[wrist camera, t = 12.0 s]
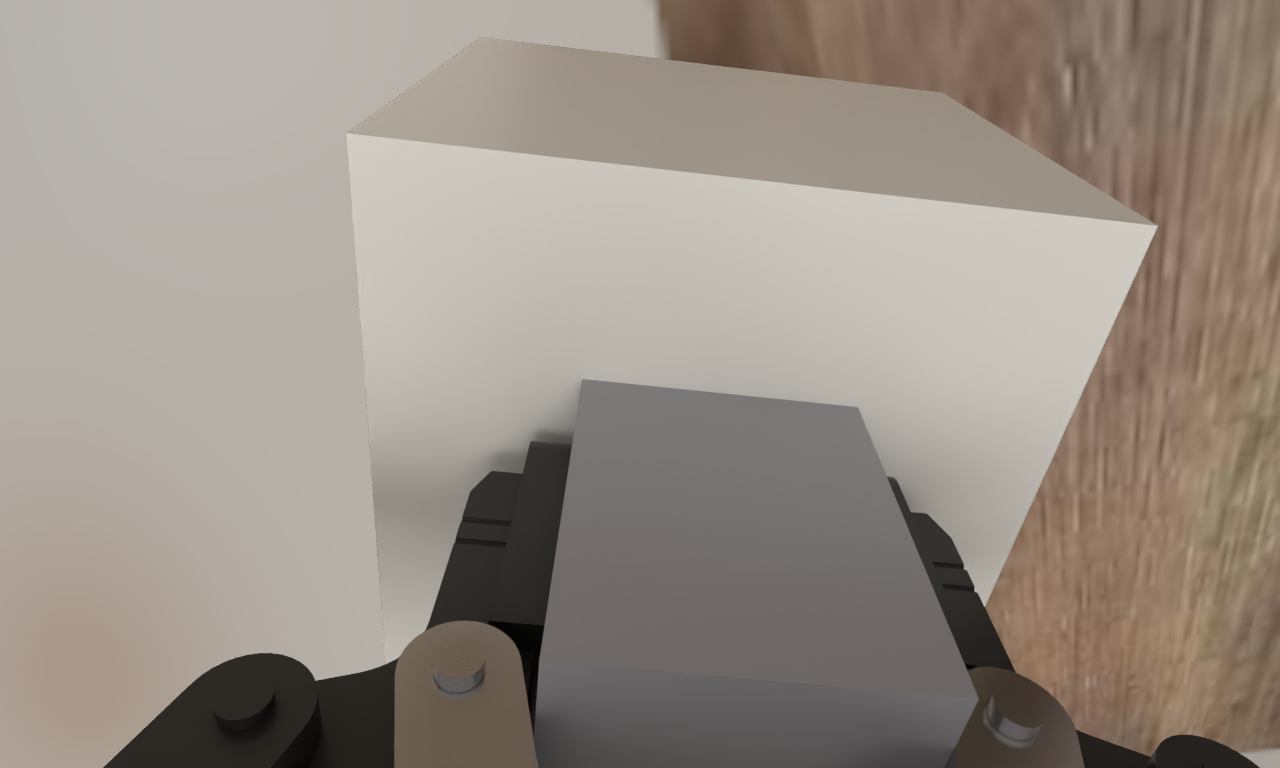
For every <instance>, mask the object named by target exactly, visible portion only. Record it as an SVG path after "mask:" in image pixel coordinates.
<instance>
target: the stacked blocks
mask: <svg viewBox="0 0 1280 768" xmlns="http://www.w3.org/2000/svg"><path fill="white" fill-rule="evenodd" d="M346 134H347V147H348V161H349V174H350V188H351V202H352V216H353V229H354V242H355V256H356V270H357V284H358V296H359V311H360V324H361V337H362V352H363V364H364V379H365V391H366V404H367V405H366V406H367V419H368V433H369V445H370V446H369V447H370V460H371V473H372V486H373V500H374V513H375V528H376V541H377V555H378V568H379V581H380V596H381V609H382V622H383V636H384V650H385V663H386V664H387V663H389V662H391V661H393V660H395V659H397V658H398V657H400V655H401V654H402V652H403V650H404V649H405V648H406V646H407V645H408V644H409V643H410V642H411V641H412V640H413V639H414V638H416V637H417V636H418V635H420V634H421V633H423V632H424V631H425V630H426V628H427V625H428V623H429V620H430V617H431V614H432V611H433V607H434V604H435V601H436V598H437V595H438V592H439V589H440V585H441V582H442V579H443V576H444V573H445V570H446V566H447V563H448V560H449V557H450V554H451V551H452V547H453V544H454V543H455V540H456V535H457V532H458V529H459V525H460V522H462V516H463V513H464V510H465V506H466V503H467V500H468V497H469V494H470V491H471V490H472V489H473V488H474V487H475V486H476V485H477V484H478V483H479V482H480V481H481V480H482V479H483V478H484V477H486V476H487V475H488V474H489V473H490V472H491V471H500V472H510V473H520V474H523V470H524V466H525V462H526V457H527V453H528V449H529V445H530V442H531V441H539V442H549V443H559V444H569V445H572V449H571V456H570V462H569V469H568V476H567V482H566V489H565V495H564V502H563V508H562V515H561V521H560V528H559V534H558V541H557V548H556V554H555V561H554V567H553V574H552V580H551V587H550V593H549V600H548V606H547V613H546V620H545V626H544V633H543V639H542V646H541V652H540V659H539V672H538V686H537V701H536V716H535V731H534V745H535V751H536V757H537V764H538V768H945V767H946V765H947V763H948V761H949V759H950V757H951V755H952V753H953V751H954V749H955V747H956V745H957V743H958V740H959V738H960V736H961V734H962V732H963V730H964V728H965V726H966V724H967V722H968V720H969V718H970V716H971V714H972V712H973V710H974V708H975V706H976V704H977V702H978V700H979V698H978V695H977V693H976V691H975V688H974V686H973V683H972V681H971V679H970V676H969V674H968V671H967V669H966V666H965V664H964V662H963V659H962V657H961V654H960V652H959V650H958V647H957V645H956V642H955V640H954V638H953V635H952V633H951V630H950V628H949V626H948V623H947V621H946V618H945V616H944V613H943V611H942V609H941V606H940V604H939V601H938V599H937V597H936V594H935V592H934V589H933V587H932V585H931V582H930V580H929V577H928V575H927V573H926V570H925V568H924V565H923V563H922V560H921V558H920V556H919V553H918V551H917V548H916V546H915V544H914V541H913V539H912V536H911V534H910V532H909V529H908V527H907V524H906V522H905V520H904V517H903V515H902V512H901V510H900V507H899V505H898V503H897V500H896V498H895V495H894V493H893V491H892V488H891V486H890V483H889V481H888V479H887V477H894V478H895V479H896V480H897V482H898V484H899V486H900V488H901V491H902V493H903V495H904V498H905V500H906V502H907V505H908V507H909V509H910V512H916V513H927V514H928V515H929V516H930V517H931V518H932V519H933V520H934V521H935V522H936V523H937V524H938V525H939V526H940V527H941V528H942V529H943V530H944V531H945V532H946V533H947V534H948V535H949V536H950V537H951V538H952V540H953V542H954V544H955V546H956V549H957V551H958V553H959V555H960V557H961V559H962V561H963V563H964V570H967V572H968V574H969V576H970V578H971V580H972V582H973V584H974V586H975V588H974V591H975V592H977V593H978V595H979V597H980V599H981V601H982V603H983V605H984V607H985V605H986V603H987V601H988V598H989V596H990V594H991V592H992V590H993V587H994V585H995V583H996V581H997V579H998V576H999V574H1000V572H1001V570H1002V568H1003V565H1004V563H1005V561H1006V559H1007V557H1008V554H1009V552H1010V550H1011V548H1012V546H1013V543H1014V541H1015V539H1016V537H1017V535H1018V532H1019V530H1020V528H1021V526H1022V524H1023V521H1024V519H1025V517H1026V515H1027V513H1028V511H1029V508H1030V506H1031V504H1032V502H1033V500H1034V497H1035V495H1036V493H1037V491H1038V489H1039V486H1040V484H1041V482H1042V480H1043V478H1044V475H1045V473H1046V471H1047V469H1048V467H1049V464H1050V462H1051V460H1052V458H1053V456H1054V453H1055V451H1056V449H1057V447H1058V445H1059V442H1060V440H1061V438H1062V436H1063V434H1064V431H1065V429H1066V427H1067V425H1068V423H1069V420H1070V418H1071V416H1072V414H1073V412H1074V409H1075V407H1076V405H1077V403H1078V401H1079V398H1080V396H1081V394H1082V392H1083V390H1084V387H1085V385H1086V383H1087V381H1088V379H1089V376H1090V374H1091V372H1092V370H1093V368H1094V365H1095V363H1096V361H1097V359H1098V357H1099V354H1100V352H1101V350H1102V348H1103V346H1104V343H1105V341H1106V339H1107V337H1108V335H1109V332H1110V330H1111V328H1112V326H1113V324H1114V321H1115V319H1116V317H1117V315H1118V313H1119V310H1120V308H1121V306H1122V304H1123V302H1124V299H1125V297H1126V295H1127V293H1128V291H1129V288H1130V286H1131V284H1132V282H1133V280H1134V278H1135V275H1136V273H1137V271H1138V269H1139V267H1140V264H1141V262H1142V260H1143V258H1144V256H1145V253H1146V251H1147V249H1148V247H1149V245H1150V242H1151V240H1152V238H1153V236H1154V234H1155V231H1156V229H1157V227H1158V226H1157V225H1156V224H1154V223H1152V222H1151V221H1149V220H1148V219H1146V218H1144V217H1143V216H1141V215H1140V214H1138V213H1136V212H1135V211H1133V210H1131V209H1130V208H1128V207H1127V206H1125V205H1123V204H1122V203H1120V202H1118V201H1117V200H1115V199H1114V198H1112V197H1110V196H1109V195H1107V194H1105V193H1104V192H1102V191H1101V190H1099V189H1097V188H1096V187H1094V186H1093V185H1091V184H1089V183H1088V182H1086V181H1084V180H1083V179H1081V178H1080V177H1078V176H1076V175H1075V174H1073V173H1071V172H1070V171H1068V170H1067V169H1065V168H1063V167H1062V166H1060V165H1059V164H1057V163H1055V162H1054V161H1052V160H1050V159H1049V158H1047V157H1046V156H1044V155H1042V154H1041V153H1039V152H1037V151H1036V150H1034V149H1033V148H1031V147H1029V146H1028V145H1026V144H1025V143H1023V142H1021V141H1020V140H1018V139H1016V138H1015V137H1013V136H1012V135H1010V134H1008V133H1007V132H1005V131H1003V130H1002V129H1000V128H999V127H997V126H995V125H994V124H992V123H991V122H989V121H987V120H986V119H984V118H982V117H981V116H979V115H978V114H976V113H974V112H973V111H971V110H969V109H968V108H966V107H965V106H963V105H961V104H960V103H958V102H957V101H955V100H953V99H952V98H950V97H948V96H947V95H945V94H944V93H940V92H932V91H924V90H916V89H907V88H899V87H891V86H882V85H874V84H866V83H857V82H849V81H841V80H832V79H824V78H816V77H807V76H799V75H791V74H782V73H774V72H766V71H757V70H749V69H741V68H732V67H724V66H716V65H707V64H699V63H691V62H682V61H674V60H666V59H657V58H648V57H641V56H632V55H624V54H615V53H606V52H599V51H590V50H583V49H574V48H566V47H557V46H549V45H541V44H533V43H524V42H516V41H508V40H499V39H491V38H482V37H481V38H479V39H478V40H476V41H475V42H474V43H472V44H471V45H469V46H468V47H467V48H465V49H464V50H462V51H461V52H460V53H458V54H457V55H455V56H454V57H453V58H451V59H450V60H448V61H447V62H446V63H444V64H443V65H441V66H440V67H439V68H438V69H436V70H434V71H433V72H431V73H430V74H429V75H427V76H426V77H424V78H423V79H422V80H420V81H419V82H418V83H416V84H415V85H413V86H412V87H411V88H409V89H408V90H406V91H405V92H403V93H402V94H401V95H399V96H398V97H396V98H395V99H394V100H392V101H391V102H390V103H388V104H387V105H385V106H384V107H383V108H381V109H380V110H378V111H377V112H376V113H374V114H373V115H371V116H370V117H369V118H367V119H366V120H364V121H363V122H361V123H360V124H359V125H357V126H356V127H355V128H353V129H352V130H350V131H349V132H347V133H346Z"/></svg>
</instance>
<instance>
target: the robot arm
mask: <svg viewBox="0 0 1280 768" xmlns="http://www.w3.org/2000/svg"><path fill="white" fill-rule="evenodd" d="M571 449H572V445H569V444H559V443H549V442H539V441H531V442H530V445H529V449H528V453H527V457H526V462H525V466H524V470H523V474H520V473H510V472H500V471H491V472H490V473H489V474H488V475H487V476H486V477H484V478H483V479H482V480H481V481H480V482H479V483H478V484H477V485H476V486H475V487H474V488H473V489H472V490H471V491H470V494H469V497H468V500H467V503H466V506H465V510H464V513H463V516H462V522H460V525H459V529H458V532H457V535H456V540H455V543H454V544H453V547H452V551H451V554H450V557H449V560H448V563H447V566H446V570H445V573H444V576H443V579H442V582H441V585H440V589H439V592H438V595H437V598H436V601H435V604H434V607H433V611H432V614H431V617H430V620H429V623H428V625H427V628H426V630H425V631H424V632H423V633H421V634H420V635H418V636H417V637H416V638H414V639H413V640H412V641H411V642H410V643H409V644H408V645H407V646H406V648H405V649H404V650H403V652H402V654H401V655H400V657H398V658H397V659H395V660H393V661H391V662H389V663H387V664H386V665H383V666H381V667H378V668H375V669H372V670H368V671H365V672H361V673H356V674H350V675H345V676H340V677H334V678H329V679H324V680H318V681H315V679H314V677H313V675H312V673H311V672H310V671H309V669H308V668H307V667H306V666H304V665H303V664H302V663H301V662H299V661H297V660H295V659H293V658H291V657H287V656H284V655H279V654H272V653H259V654H252V655H246V656H242V657H238V658H234V659H232V660H229V661H226V662H224V663H222V664H220V665H218V666H216V667H214V668H212V669H210V670H209V671H207V672H206V673H204V674H203V675H201V676H200V677H199V678H198V679H196V680H195V681H194V682H193V683H192V684H191V685H190V686H189V687H187V688H186V689H185V690H184V691H183V692H182V693H181V694H180V695H179V696H178V697H177V698H176V699H175V700H174V701H173V702H172V703H171V704H170V705H169V706H167V707H166V709H164V710H163V711H162V712H161V713H160V714H159V715H158V716H157V717H156V718H155V719H154V720H153V721H152V722H151V723H150V724H149V725H148V726H147V727H146V728H144V729H143V730H142V732H140V733H139V734H138V735H137V736H136V737H135V738H134V739H133V740H132V741H131V742H130V743H129V744H128V745H127V746H126V747H124V748H123V749H122V750H121V751H120V752H119V753H118V754H117V755H116V756H115V757H114V758H113V759H112V760H111V761H110V762H109V763H108V764H107V765H106V766H105V767H103V768H538V764H537V757H536V751H535V745H534V731H535V716H536V701H537V686H538V672H539V659H540V652H541V646H542V639H543V633H544V626H545V620H546V613H547V606H548V600H549V593H550V587H551V580H552V574H553V567H554V561H555V554H556V548H557V541H558V534H559V528H560V521H561V515H562V508H563V502H564V495H565V489H566V482H567V476H568V469H569V462H570V456H571ZM887 479H888V481H889V483H890V486H891V488H892V491H893V493H894V495H895V498H896V500H897V503H898V505H899V507H900V510H901V512H902V515H903V517H904V520H905V522H906V524H907V527H908V529H909V532H910V534H911V536H912V539H913V541H914V544H915V546H916V548H917V551H918V553H919V556H920V558H921V560H922V563H923V565H924V568H925V570H926V573H927V575H928V577H929V580H930V582H931V585H932V587H933V589H934V592H935V594H936V597H937V599H938V601H939V604H940V606H941V609H942V611H943V613H944V616H945V618H946V621H947V623H948V626H949V628H950V630H951V633H952V635H953V638H954V640H955V642H956V645H957V647H958V650H959V652H960V654H961V657H962V659H963V662H964V664H965V666H966V669H967V671H968V674H969V676H970V679H971V681H972V683H973V686H974V688H975V691H976V693H977V695H978V698H979V700H978V702H977V704H976V706H975V708H974V710H973V712H972V714H971V716H970V718H969V720H968V722H967V724H966V726H965V728H964V730H963V732H962V734H961V736H960V738H959V740H958V743H957V745H956V747H955V749H954V751H953V753H952V755H951V757H950V759H949V761H948V763H947V765H946V767H945V768H1259V767H1258V766H1257V765H1255V764H1254V763H1253V762H1252V761H1250V760H1249V759H1247V758H1246V757H1244V756H1243V755H1241V754H1240V753H1238V752H1236V751H1234V750H1233V749H1231V748H1229V747H1227V746H1225V745H1223V744H1220V743H1218V742H1215V741H1213V740H1210V739H1207V738H1203V737H1199V736H1193V735H1176V736H1171V737H1169V738H1167V739H1165V740H1164V741H1163V742H1161V743H1160V745H1159V746H1158V747H1157V749H1156V750H1155V752H1154V753H1153V755H1152V756H1151V757H1149V756H1146V755H1143V754H1141V753H1138V752H1135V751H1132V750H1129V749H1127V748H1124V747H1121V746H1118V745H1115V744H1112V743H1110V742H1107V741H1104V740H1101V739H1098V738H1096V737H1093V736H1090V735H1088V734H1085V733H1083V732H1080V731H1078V730H1077V729H1075V726H1074V724H1073V722H1072V720H1071V718H1070V716H1069V715H1068V713H1067V712H1066V710H1065V709H1064V708H1063V706H1062V705H1061V704H1060V703H1059V702H1058V701H1057V700H1056V699H1055V698H1054V697H1053V696H1052V695H1051V694H1050V693H1049V692H1048V691H1046V690H1045V689H1044V688H1042V687H1041V686H1039V685H1038V684H1037V683H1035V682H1033V681H1031V680H1030V679H1028V678H1026V677H1024V676H1022V675H1020V674H1018V673H1016V672H1015V670H1014V668H1013V666H1012V664H1011V661H1010V659H1009V657H1008V655H1007V653H1006V651H1005V649H1004V647H1003V645H1002V643H1001V641H1000V638H999V636H998V634H997V632H996V630H995V628H994V626H993V624H992V622H991V620H990V618H989V615H988V613H987V611H986V609H985V607H984V605H983V603H982V601H981V599H980V597H979V595H978V593H977V592H975V591H974V588H975V586H974V584H973V582H972V580H971V578H970V576H969V574H968V572H967V570H964V563H963V561H962V559H961V557H960V555H959V553H958V551H957V549H956V546H955V544H954V542H953V540H952V538H951V537H950V536H949V535H948V534H947V533H946V532H945V531H944V530H943V529H942V528H941V527H940V526H939V525H938V524H937V523H936V522H935V521H934V520H933V519H932V518H931V517H930V516H929V515H928V514H927V513H916V512H910V509H909V507H908V505H907V502H906V500H905V498H904V495H903V493H902V491H901V488H900V486H899V484H898V482H897V480H896V479H895V478H894V477H887Z"/></svg>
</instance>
